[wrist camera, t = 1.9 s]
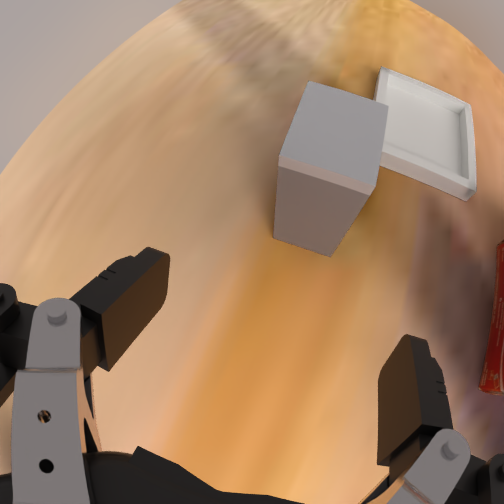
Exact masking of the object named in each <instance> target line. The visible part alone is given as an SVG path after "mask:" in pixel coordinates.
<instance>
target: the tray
mask: <svg viewBox="0 0 504 504" xmlns="http://www.w3.org/2000/svg"><path fill="white" fill-rule="evenodd" d="M373 101H376V102H379V103H382V104H385V105H387V106H389V108H388V115H387V122H386V129H385V135H384V142H383V148H382V154H381V160H380V165H379V166H382V167H385V168H387V169H390V170H393V171H395V172H398V173H400V174H403V175H405V176H408V177H410V178H413V179H415V180H418V181H420V182H423V183H425V184H427V185H430V186H432V187H434V188H437V189H439V190H441V191H444V192H446V193H448V194H450V195H453V196H455V197H457V198H459V199H461V200H463V201H467V200H468V199H469V198H470V197H472V196H473V195H474V194H475V193H476V192H477V187H476V155H475V140H474V128H473V118H472V110H471V105H470V104H468V103H466V102H464V101H462V100H460V99H458V98H456V97H454V96H452V95H450V94H448V93H445V92H443V91H441V90H439V89H437V88H434V87H432V86H430V85H428V84H425V83H423V82H421V81H418V80H416V79H413V78H411V77H408V76H406V75H403V74H401V73H398V72H395V71H393V70H390V69H387V68H384V67H382V66H381V68H380V71H379V74H378V77H377V81H376V87H375V93H374V98H373Z"/></svg>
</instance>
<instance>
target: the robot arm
mask: <svg viewBox="0 0 504 504" xmlns="http://www.w3.org/2000/svg"><path fill="white" fill-rule="evenodd" d="M169 267H170V256H169V254H167V253H164V252H162V251H159V250H156V249H153V248H151V247H147V248H145V249H144V250H143V251H141V252H140V253H139V254H138V255H136V256H135V257H133V256H128V257H125V258H122V259H119V260H116V261H115V262H114V263H113V264H111V265H110V266H109V267H108V268H107V269H106V270H104V271H103V272H101V273H100V274H99V276H98V277H97V276H96V277H95V278H94V279H93V280H92V281H90V282H89V283H88V284H87V285H86V286H84V287H83V288H82V289H81V290H80V291H78V292H77V293H76V294H75V295H74V296H72V297H71V298H70V299H69V300H68V299H65V298H53V299H49V300H46V301H44V302H42V303H41V304H40V305H39V306H34V305H30V304H26V303H22V302H19V301H18V299H17V296H16V291H15V289H14V288H13V287H12V286H10V285H8V284H4V283H0V407H1V406H2V405H3V403H4V402H5V401H6V400H7V398H8V397H9V396H10V395H11V394H12V392H13V391H14V397H13V410H12V432H11V464H12V473H8V474H3V475H0V504H304V503H299V502H294V501H290V500H286V499H281V498H277V497H273V496H270V495H258V494H243V493H231V492H222V491H219V490H216V489H214V488H213V487H211V486H210V485H208V484H206V483H205V482H203V481H202V480H200V479H199V478H197V477H196V476H194V475H193V474H191V473H190V472H188V471H187V470H186V469H184V468H183V467H181V466H180V465H178V464H176V463H174V462H172V461H169V460H167V459H165V458H162V457H160V456H158V455H156V454H154V453H152V452H150V451H147V450H145V449H143V448H141V447H139V446H137V448H136V450H135V451H134V453H133V454H129V453H123V452H113V451H102V448H101V443H100V438H99V434H98V430H97V424H96V415H95V406H94V395H93V382H92V371H93V370H94V369H95V368H96V367H97V366H99V367H101V368H103V369H104V370H106V371H108V372H109V371H110V370H111V368H112V367H113V366H114V365H115V363H116V362H117V361H118V360H119V358H120V357H121V356H122V355H123V354H124V352H125V351H126V350H127V349H128V347H129V346H130V345H131V344H132V343H133V341H134V340H135V339H136V338H137V336H138V335H139V334H140V333H141V332H142V330H143V329H144V328H145V327H146V326H147V324H148V323H149V322H150V321H151V320H152V318H153V317H154V316H155V315H156V314H157V312H158V311H159V310H160V309H161V307H162V306H163V304H164V301H165V299H166V295H167V288H168V277H169ZM444 383H445V382H444V377H443V373H442V370H441V368H440V366H439V365H438V363H437V361H436V360H435V358H432V357H431V355H430V350H429V346H428V342H427V340H425V339H421V338H418V337H415V336H411V335H408V334H406V335H404V336H403V337H402V338H401V340H400V341H399V343H398V345H397V346H396V348H395V349H394V351H393V352H392V354H391V355H390V357H389V358H388V360H387V361H386V363H385V364H384V366H383V367H382V370H381V372H380V375H379V379H378V451H377V465H382V466H389V467H390V468H389V473H388V474H387V475H386V476H385V477H384V478H383V479H382V480H381V481H380V482H379V483H378V484H377V485H376V486H375V487H374V488H373V489H372V490H371V491H370V492H369V493H368V494H367V495H366V496H365V497H364V498H363V499H362V500H361V501H360V502H359V503H358V504H504V454H497V455H495V456H494V457H493V458H491V459H490V460H489V461H488V462H486V461H484V460H481V459H479V458H477V457H475V456H473V455H471V454H470V448H469V445H468V443H467V441H466V439H465V438H464V437H463V436H462V435H461V434H460V433H459V432H457V431H455V430H453V425H452V419H451V413H450V407H449V402H448V397H447V395H446V393H447V392H446V387H445V385H444Z"/></svg>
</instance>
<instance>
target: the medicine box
mask: <svg viewBox="0 0 504 504" xmlns="http://www.w3.org/2000/svg"><path fill="white" fill-rule="evenodd" d="M478 389H479V390H481V391H483V392H485V393H489V394H493V395H500V396H504V240H503V241H502V242H500V243H499V244H498V247H497V262H496V280H495V292H494V302H493V311H492V319H491V326H490V333H489V339H488V345H487V350H486V356H485V361H484V366H483V371H482V375H481V379H480V384H479V388H478Z"/></svg>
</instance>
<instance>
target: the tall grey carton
mask: <svg viewBox="0 0 504 504" xmlns="http://www.w3.org/2000/svg"><path fill="white" fill-rule="evenodd" d="M388 108H389V106H387V105H385V104H382V103H379V102H376V101H373V100H371V99H368V98H365V97H362V96H359V95H356V94H353V93H349V92H346V91H343V90H340V89H336V88H333V87H330V86H326V85H323V84H319V83H315V82H312V81H308V83H307V86H306V88H305V91H304V93H303V96H302V98H301V101H300V103H299V106H298V108H297V111H296V113H295V116H294V118H293V121H292V123H291V126H290V128H289V131H288V133H287V136H286V138H285V141H284V143H283V146H282V149H281V151H280V154H279V161H278V176H277V191H276V205H275V218H274V232H273V238H274V239H277V240H280V241H283V242H286V243H289V244H292V245H295V246H298V247H301V248H304V249H307V250H310V251H313V252H316V253H319V254H322V255H325V256H328V257H331V256H332V254H333V253H334V251H335V250H336V248H337V247H338V245H339V244H340V242H341V240H342V239H343V237H344V236H345V234H346V233H347V231H348V230H349V228H350V227H351V225H352V223H353V222H354V220H355V219H356V217H357V215H358V214H359V212H360V211H361V209H362V208H363V206H364V204H365V203H366V201H367V199H368V198H369V196H370V195H371V193H372V191H373V190H374V188H375V186H376V181H377V176H378V171H379V165H380V160H381V154H382V148H383V142H384V135H385V129H386V122H387V115H388Z"/></svg>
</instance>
